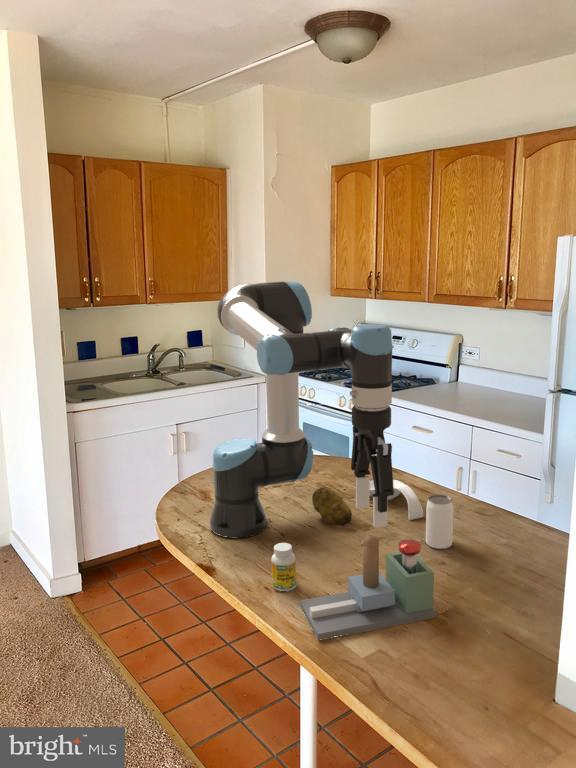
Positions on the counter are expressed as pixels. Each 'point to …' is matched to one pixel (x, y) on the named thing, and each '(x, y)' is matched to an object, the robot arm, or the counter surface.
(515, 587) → the counter surface
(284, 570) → the supplement bottle
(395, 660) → the counter surface
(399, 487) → the spoon rest
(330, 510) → the potato
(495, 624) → the counter surface
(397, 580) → the track
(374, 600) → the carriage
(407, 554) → the button
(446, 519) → the can
